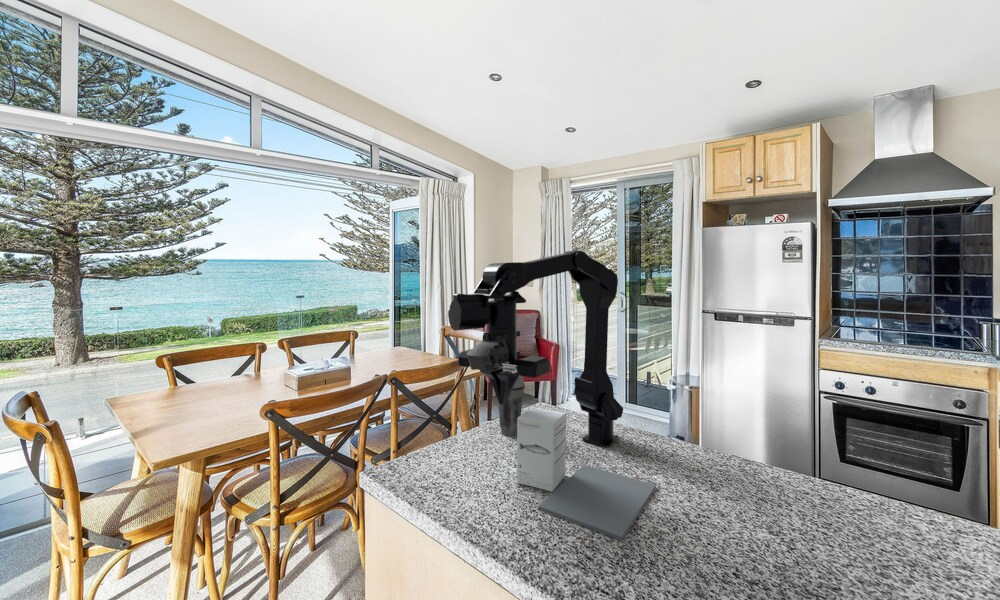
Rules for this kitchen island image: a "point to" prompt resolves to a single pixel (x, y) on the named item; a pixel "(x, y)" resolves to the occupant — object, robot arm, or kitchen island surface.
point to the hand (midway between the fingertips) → (502, 404)
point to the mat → (599, 501)
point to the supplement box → (541, 448)
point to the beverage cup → (512, 409)
